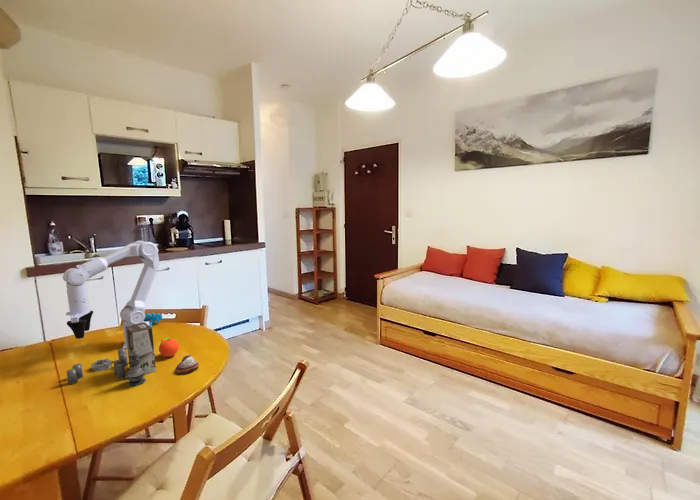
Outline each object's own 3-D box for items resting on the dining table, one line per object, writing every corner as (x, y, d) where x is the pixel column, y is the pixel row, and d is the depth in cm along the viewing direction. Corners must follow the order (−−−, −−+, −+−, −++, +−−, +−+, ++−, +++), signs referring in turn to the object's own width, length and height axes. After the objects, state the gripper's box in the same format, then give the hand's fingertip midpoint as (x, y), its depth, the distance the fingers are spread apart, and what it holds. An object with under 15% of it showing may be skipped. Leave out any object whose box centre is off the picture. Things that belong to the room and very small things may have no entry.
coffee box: (156, 370, 117) (152, 327, 115) (136, 377, 113) (131, 333, 110) (148, 362, 124) (144, 321, 121) (129, 368, 119) (124, 326, 116)
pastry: (192, 362, 124) (191, 349, 123) (203, 368, 119) (202, 355, 119) (171, 371, 117) (170, 358, 117) (182, 377, 113) (180, 364, 112)
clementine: (153, 357, 127) (151, 340, 126) (169, 350, 133) (167, 333, 132) (168, 361, 124) (166, 343, 123) (183, 353, 130) (182, 336, 129)
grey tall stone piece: (124, 389, 106) (121, 354, 104) (127, 380, 111) (123, 347, 109) (146, 384, 109) (142, 350, 107) (147, 376, 114) (144, 343, 112)
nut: (113, 363, 123) (112, 357, 123) (110, 369, 119) (109, 363, 118) (93, 366, 120) (92, 361, 120) (89, 373, 116) (89, 367, 116)
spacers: (131, 357, 127) (130, 346, 126) (125, 378, 112) (123, 366, 112) (78, 367, 120) (76, 355, 119) (63, 390, 105) (62, 378, 104)
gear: (165, 318, 165) (158, 309, 157) (165, 329, 162) (158, 320, 154) (140, 323, 161) (132, 315, 153) (140, 334, 158) (132, 326, 150)
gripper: (70, 296, 127) (75, 329, 129) (57, 307, 114) (63, 343, 117) (93, 293, 130) (97, 326, 132) (82, 304, 118) (87, 340, 120)
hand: (83, 334), depth 125 cm, fingers open, 7 cm apart
